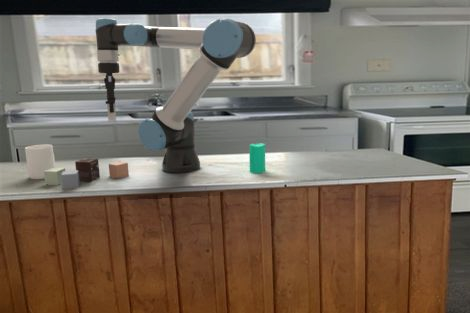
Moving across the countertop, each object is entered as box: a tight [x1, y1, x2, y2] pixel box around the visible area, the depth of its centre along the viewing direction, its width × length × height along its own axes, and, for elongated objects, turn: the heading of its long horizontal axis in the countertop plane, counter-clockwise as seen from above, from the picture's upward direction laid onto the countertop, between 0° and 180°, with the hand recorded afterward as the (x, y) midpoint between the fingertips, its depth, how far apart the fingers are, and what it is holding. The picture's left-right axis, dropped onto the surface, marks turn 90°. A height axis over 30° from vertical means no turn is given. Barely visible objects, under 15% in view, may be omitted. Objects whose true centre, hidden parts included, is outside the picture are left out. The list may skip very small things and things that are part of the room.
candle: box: [248, 142, 266, 174], centre depth 155 cm, size 6×6×12 cm
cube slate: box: [61, 169, 81, 190], centre depth 142 cm, size 5×5×5 cm
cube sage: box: [44, 167, 66, 186], centre depth 147 cm, size 5×5×5 cm
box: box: [74, 158, 101, 182], centre depth 150 cm, size 6×6×7 cm
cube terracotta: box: [108, 161, 130, 179], centre depth 154 cm, size 5×5×5 cm
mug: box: [24, 143, 56, 180], centre depth 157 cm, size 10×12×12 cm
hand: (111, 119), depth 157 cm, fingers open, 13 cm apart
